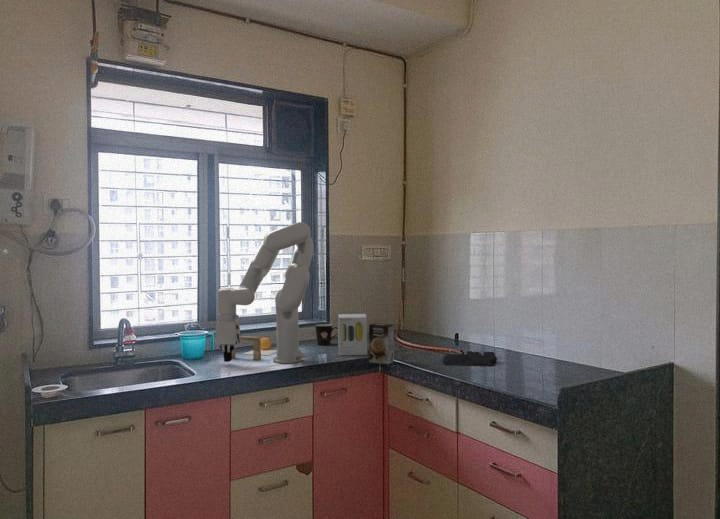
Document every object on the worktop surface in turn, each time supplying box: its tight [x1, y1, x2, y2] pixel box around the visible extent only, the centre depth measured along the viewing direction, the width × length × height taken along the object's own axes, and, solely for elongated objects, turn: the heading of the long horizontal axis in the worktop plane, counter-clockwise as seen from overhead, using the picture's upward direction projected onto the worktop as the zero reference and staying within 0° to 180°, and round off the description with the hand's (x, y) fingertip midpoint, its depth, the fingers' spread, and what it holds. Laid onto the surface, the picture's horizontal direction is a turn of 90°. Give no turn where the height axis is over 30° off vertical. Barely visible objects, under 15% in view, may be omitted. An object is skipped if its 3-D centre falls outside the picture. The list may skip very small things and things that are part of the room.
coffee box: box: [368, 322, 395, 365], centre depth 220 cm, size 9×6×16 cm
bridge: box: [232, 335, 262, 361], centre depth 231 cm, size 3×15×10 cm, turn 71°
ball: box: [261, 336, 272, 350], centre depth 253 cm, size 6×6×6 cm
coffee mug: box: [314, 323, 338, 347], centre depth 265 cm, size 12×9×10 cm
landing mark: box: [242, 348, 277, 356], centre depth 246 cm, size 13×13×1 cm
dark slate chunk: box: [442, 350, 498, 368], centre depth 218 cm, size 15×22×5 cm
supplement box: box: [337, 313, 368, 356], centre depth 242 cm, size 13×13×18 cm
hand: (227, 361), depth 219 cm, fingers closed
